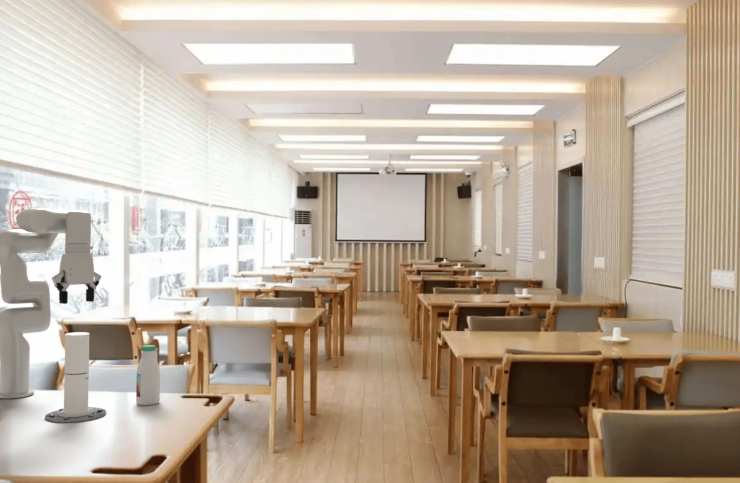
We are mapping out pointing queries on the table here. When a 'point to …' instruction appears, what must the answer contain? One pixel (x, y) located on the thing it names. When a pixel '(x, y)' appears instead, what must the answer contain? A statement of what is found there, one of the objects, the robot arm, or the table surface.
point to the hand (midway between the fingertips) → (76, 302)
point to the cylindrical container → (76, 373)
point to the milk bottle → (148, 378)
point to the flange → (75, 416)
